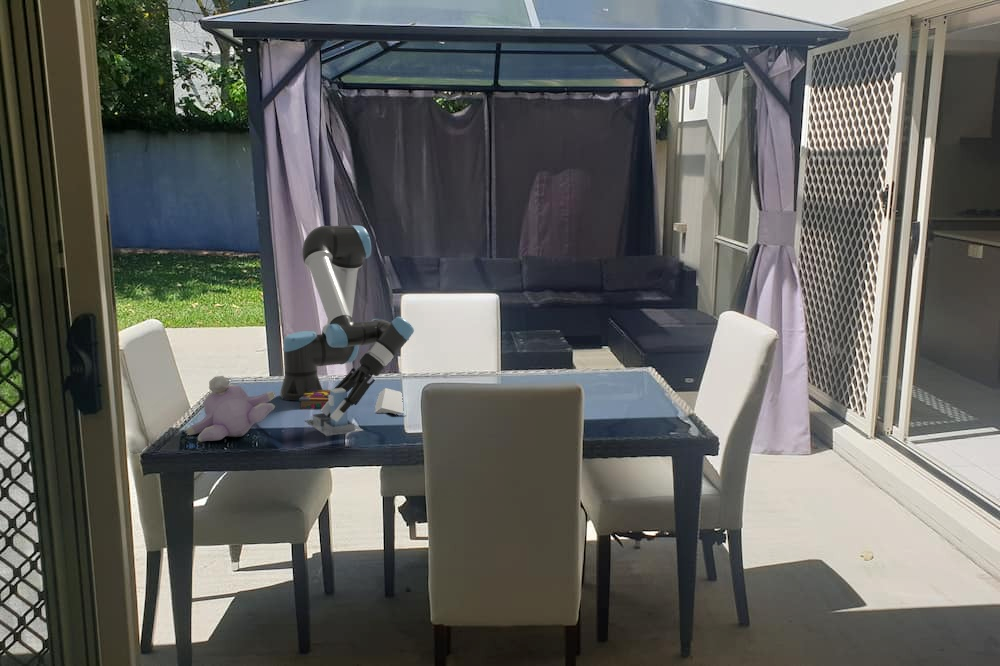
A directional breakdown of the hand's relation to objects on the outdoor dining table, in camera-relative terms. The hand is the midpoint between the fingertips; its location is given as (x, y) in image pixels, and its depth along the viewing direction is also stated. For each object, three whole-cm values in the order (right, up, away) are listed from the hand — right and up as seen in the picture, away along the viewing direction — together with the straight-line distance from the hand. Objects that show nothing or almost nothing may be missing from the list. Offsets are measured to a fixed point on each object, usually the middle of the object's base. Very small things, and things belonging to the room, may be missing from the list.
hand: (328, 416), depth 268 cm
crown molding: (+14, -1, +37) cm, 40 cm away
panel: (0, -5, +7) cm, 8 cm away
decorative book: (-10, 0, +36) cm, 37 cm away
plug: (+3, -4, +3) cm, 6 cm away
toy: (-31, -5, +5) cm, 32 cm away
